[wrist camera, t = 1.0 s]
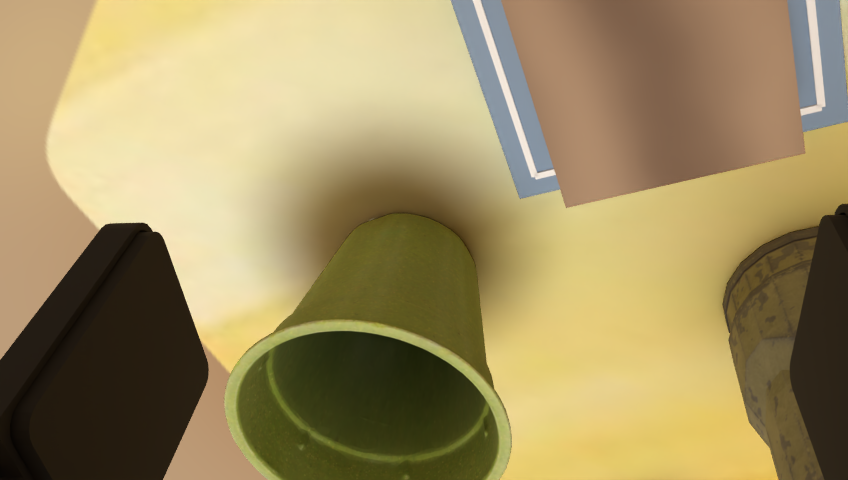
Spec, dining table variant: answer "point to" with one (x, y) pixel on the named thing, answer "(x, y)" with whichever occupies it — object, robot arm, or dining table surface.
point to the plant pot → (376, 368)
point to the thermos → (772, 346)
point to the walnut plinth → (657, 89)
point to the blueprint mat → (517, 117)
